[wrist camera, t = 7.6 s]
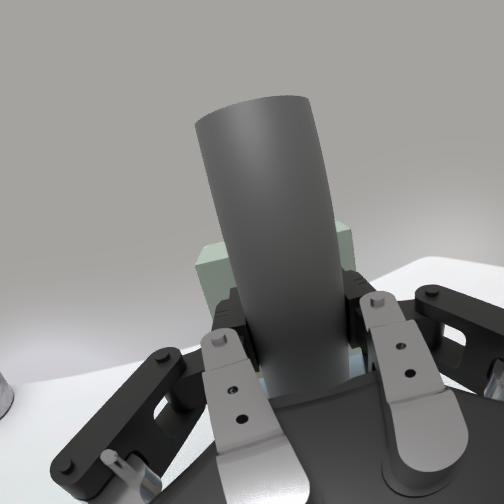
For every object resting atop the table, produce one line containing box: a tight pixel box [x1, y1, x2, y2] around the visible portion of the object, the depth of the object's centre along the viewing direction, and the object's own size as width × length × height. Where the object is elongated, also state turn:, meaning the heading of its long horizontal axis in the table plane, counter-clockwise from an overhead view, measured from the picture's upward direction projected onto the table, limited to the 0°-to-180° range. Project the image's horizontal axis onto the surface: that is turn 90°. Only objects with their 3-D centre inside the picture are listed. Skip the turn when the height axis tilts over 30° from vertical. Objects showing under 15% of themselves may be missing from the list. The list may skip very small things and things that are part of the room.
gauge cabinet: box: [195, 220, 361, 378], centre depth 20 cm, size 10×5×12 cm, turn 92°
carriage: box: [195, 96, 364, 399], centre depth 10 cm, size 8×7×17 cm
